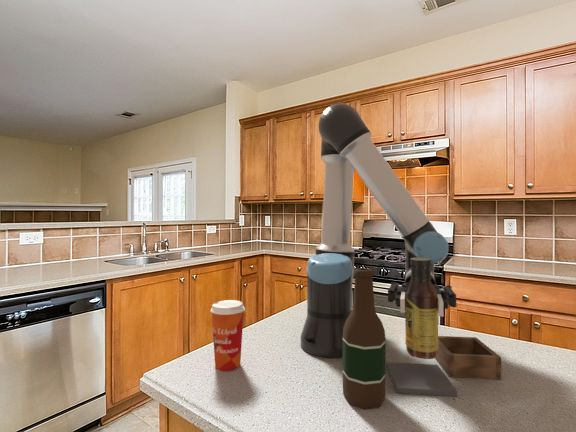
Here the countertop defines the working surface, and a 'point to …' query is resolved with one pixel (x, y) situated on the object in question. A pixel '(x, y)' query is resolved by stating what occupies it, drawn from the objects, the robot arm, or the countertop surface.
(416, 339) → the sauce bottle
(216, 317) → the paper cup
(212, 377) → the countertop surface
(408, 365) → the rubber mat
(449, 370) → the collar
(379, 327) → the beer bottle
